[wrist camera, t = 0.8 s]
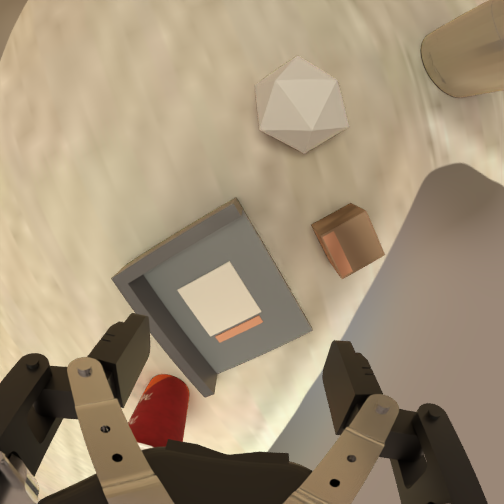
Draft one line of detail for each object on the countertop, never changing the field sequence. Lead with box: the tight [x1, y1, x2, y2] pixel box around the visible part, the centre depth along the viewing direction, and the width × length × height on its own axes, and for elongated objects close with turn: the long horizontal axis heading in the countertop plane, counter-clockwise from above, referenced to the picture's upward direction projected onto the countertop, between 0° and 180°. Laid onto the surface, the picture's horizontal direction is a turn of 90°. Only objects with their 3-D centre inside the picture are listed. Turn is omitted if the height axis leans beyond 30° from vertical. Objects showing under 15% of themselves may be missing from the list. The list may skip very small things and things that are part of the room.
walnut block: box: [312, 203, 385, 279], centre depth 31 cm, size 5×5×5 cm
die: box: [255, 55, 349, 154], centre depth 26 cm, size 8×9×10 cm
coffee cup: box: [128, 374, 189, 450], centre depth 33 cm, size 8×8×15 cm
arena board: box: [111, 198, 313, 397], centre depth 33 cm, size 15×18×5 cm
